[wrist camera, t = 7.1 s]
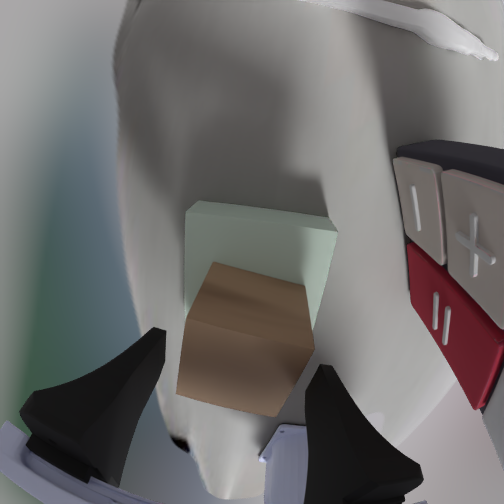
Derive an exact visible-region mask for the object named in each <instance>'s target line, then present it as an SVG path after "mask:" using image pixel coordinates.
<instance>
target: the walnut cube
mask: <svg viewBox="0 0 504 504" xmlns="http://www.w3.org/2000/svg"><path fill="white" fill-rule="evenodd" d="M314 350H315V347H314V340H313V333H312V326H311V319H310V313H309V306H308V300H307V294H306V288H305V286H304V285H300V284H296V283H292V282H289V281H285V280H281V279H277V278H273V277H269V276H266V275H262V274H258V273H254V272H250V271H247V270H243V269H239V268H236V267H232V266H228V265H224V264H221V263H217V262H213V263H212V265H211V267H210V269H209V271H208V273H207V275H206V277H205V279H204V281H203V283H202V285H201V287H200V289H199V291H198V294H197V296H196V298H195V300H194V302H193V304H192V306H191V308H190V310H189V313H188V315H187V317H186V322H185V328H184V335H183V342H182V350H181V357H180V365H179V373H178V381H177V390H176V394H178V395H181V396H185V397H188V398H191V399H195V400H198V401H202V402H206V403H210V404H214V405H218V406H222V407H226V408H230V409H235V410H239V411H244V412H249V413H254V414H259V415H265V416H270V417H276V416H277V414H278V413H279V411H280V410H281V408H282V406H283V405H284V403H285V401H286V400H287V398H288V396H289V395H290V393H291V391H292V390H293V388H294V386H295V384H296V383H297V381H298V379H299V377H300V376H301V374H302V372H303V370H304V368H305V367H306V365H307V363H308V361H309V359H310V357H311V356H312V354H313V352H314Z"/></svg>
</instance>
